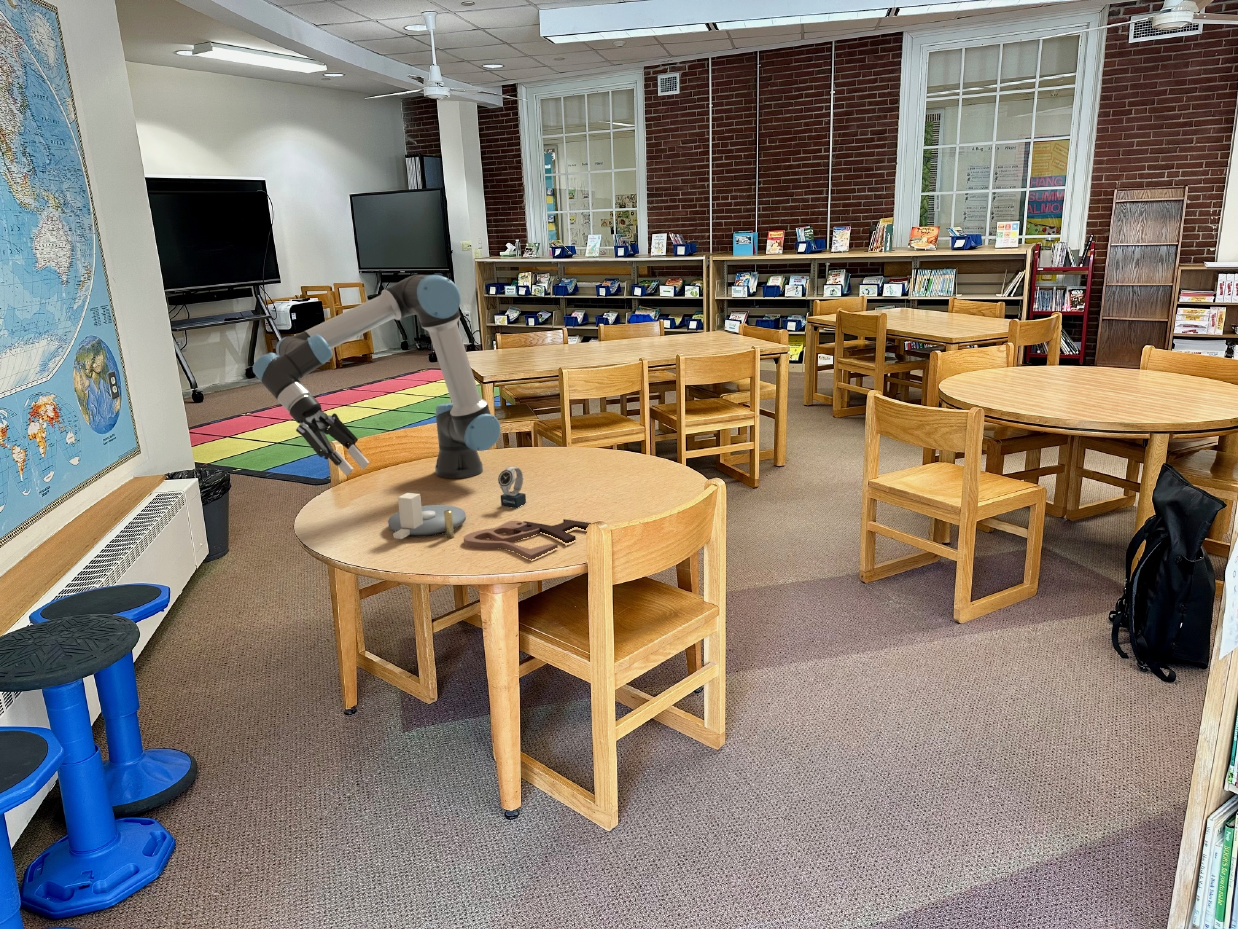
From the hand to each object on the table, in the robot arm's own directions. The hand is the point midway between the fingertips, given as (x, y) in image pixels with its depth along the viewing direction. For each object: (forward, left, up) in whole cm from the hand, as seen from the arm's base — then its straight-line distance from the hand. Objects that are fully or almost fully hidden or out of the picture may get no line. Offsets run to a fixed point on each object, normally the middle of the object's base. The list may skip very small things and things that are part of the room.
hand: (358, 469), depth 217 cm
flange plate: (-7, +14, -15) cm, 22 cm away
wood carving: (-12, +44, -17) cm, 49 cm away
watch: (-32, +25, -17) cm, 44 cm away
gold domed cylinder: (-4, +25, -17) cm, 30 cm away
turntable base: (-8, +14, -17) cm, 23 cm away
